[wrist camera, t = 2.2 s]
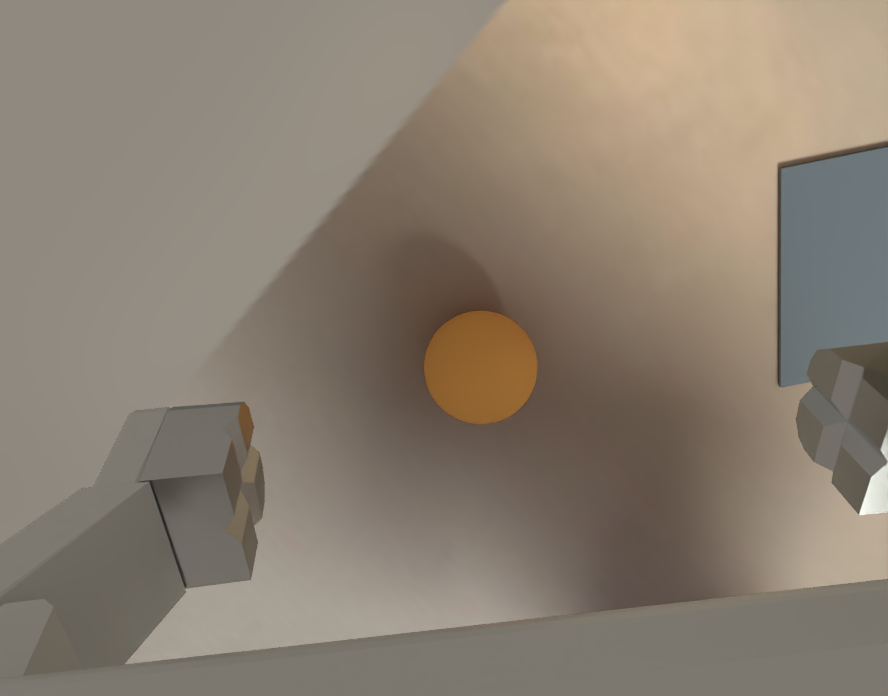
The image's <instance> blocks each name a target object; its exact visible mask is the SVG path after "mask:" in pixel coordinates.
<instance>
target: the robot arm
mask: <svg viewBox="0 0 888 696" xmlns="http://www.w3.org/2000/svg"><path fill="white" fill-rule="evenodd" d="M806 375H807V376H808V378H809V380H810V381H811V383H812V385H813V387H812V388H811V389H810V390H809V391H808V392H807V393H806V394H805V395H804V397H803V398H802V399H801V400H800V403H799V408H798V413H797V418H796V421H797V428H798V435H799V439H800V441H801V443H802V445H803V448H804V450H805V451H806V452H807V454H808V455H809V456H810V457H811V459H812V460H813V461H814V462H816V463H818V464H820V465H822V466H824V467H826V468H828V469H830V470H832V471H833V475H832V482H831V483H832V484H833V485H834V486H835V487H836V488H837V490H838V491H839V492H840V493H841V494H842V495H843V497H844V498H845V499H846V500H847V501H848V503H849V504H850V505H851V506H852V507H853V508H854V510H855V511H856V512H857V513H858V514H859V515H863V514H876V513H888V341H886V342H882V343H873V344H864V345H855V346H846V347H837V348H828V349H820V350H817V351H816V352H815V354H814V355H813V357H812V358H811V360H810V363H809V367H808V371H807V374H806ZM253 429H254V426H253V422H252V418H251V414H250V410H249V407H248V406H247V405H246V403H245V402H236V403H222V404H208V405H194V406H181V407H173V408H169V407H165V408H155V409H145V410H136V411H134V412H132V413H130V414H129V416H128V417H127V419H126V421H125V423H124V425H123V427H122V429H121V431H120V433H119V435H118V437H117V439H116V442H115V444H114V446H113V447H112V450H111V452H110V454H109V456H108V458H107V460H106V462H105V464H104V466H103V468H102V470H101V472H100V474H99V476H98V478H97V480H96V482H95V484H94V486H93V487H88V488H81V489H80V490H78V491H77V492H75V493H74V494H72V495H71V496H69V497H68V498H67V499H65V500H64V501H63V502H61V503H59V504H58V505H56V506H55V507H54V508H52V509H51V510H49V511H48V512H46V513H45V514H44V515H42V516H41V517H39V518H38V519H36V520H35V521H33V522H32V523H31V524H29V525H28V526H26V527H25V528H23V529H22V530H20V531H19V532H18V533H16V534H15V535H13V536H12V537H11V538H9V539H7V540H6V541H5V542H3V543H2V544H0V696H888V579H883V580H874V581H866V582H857V583H848V584H839V585H830V586H821V587H813V588H804V589H795V590H786V591H777V592H768V593H759V594H750V595H741V596H732V597H723V598H714V599H705V600H696V601H687V602H678V603H669V604H660V605H651V606H642V607H633V608H623V609H614V610H605V611H596V612H587V613H578V614H569V615H561V616H552V617H543V618H534V619H525V620H517V621H508V622H499V623H490V624H481V625H473V626H464V627H455V628H446V629H437V630H429V631H420V632H411V633H402V634H393V635H385V636H376V637H367V638H358V639H349V640H341V641H332V642H323V643H314V644H305V645H297V646H288V647H279V648H270V649H261V650H252V651H242V652H233V653H224V654H214V655H205V656H196V657H187V658H178V659H169V660H161V661H152V662H143V663H134V664H125V663H126V662H127V660H128V659H129V658H130V657H131V656H132V655H133V653H134V652H135V651H136V650H137V649H138V648H139V646H140V645H141V644H142V643H143V642H144V641H145V639H146V638H147V637H148V636H149V635H150V634H151V632H152V631H153V630H154V629H155V628H156V627H157V625H158V624H159V623H160V622H161V621H162V620H163V618H164V617H165V616H166V615H167V614H168V613H169V611H170V610H171V609H172V608H173V607H174V606H175V604H176V603H177V602H178V601H179V600H180V599H181V597H182V596H183V595H184V594H185V593H186V590H185V589H186V588H194V587H201V586H208V585H216V584H223V583H231V582H238V581H246V580H251V577H252V572H253V566H254V561H255V555H256V550H257V544H258V540H257V536H256V532H255V528H254V525H255V524H256V523H258V522H259V521H260V520H261V519H262V515H263V509H264V497H265V482H264V473H263V466H262V461H261V456H260V452H258V451H257V450H256V449H255V448H254V447H252V446H251V445H250V443H251V438H252V433H253ZM124 664H125V665H124Z"/></svg>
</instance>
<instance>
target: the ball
mask: <svg viewBox="0 0 888 696" xmlns="http://www.w3.org/2000/svg"><path fill="white" fill-rule="evenodd" d="M537 370H538V364H537V356H536V352H535V349H534V346H533V344H532V342H531V340H530V338H529V337H528V335H527V334H526V332H525V331H524V330H523V329H522V328H521V327H520V326H519V325H518V324H517V323H515V322H514V321H513V320H511V319H510V318H508V317H506V316H504V315H501V314H499V313H495V312H491V311H470V312H466V313H463V314H460V315H458V316H455V317H454V318H452V319H450V320H449V321H447V322H446V323H445V324H444V325H442V326H441V327H440V328H439V329H438V331H437V332H436V333H435V334H434V336H433V337H432V339H431V341H430V343H429V345H428V348H427V351H426V354H425V360H424V375H425V380H426V384H427V387H428V389H429V392H430V394H431V395H432V397H433V399H434V400H435V402H436V403H437V404H438V405H439V406H440V407H441V408H442V409H443V410H444V411H445V412H446V413H448V414H449V415H451V416H452V417H454V418H456V419H458V420H461V421H464V422H467V423H472V424H489V423H494V422H498V421H501V420H504V419H506V418H508V417H509V416H511V415H513V414H514V413H515V412H517V411H518V410H519V409H520V408H521V407H522V406H523V405H524V404H525V403H526V401H527V400H528V398H529V397H530V395H531V393H532V391H533V389H534V386H535V383H536V379H537Z"/></svg>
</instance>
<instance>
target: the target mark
mask: <svg viewBox="0 0 888 696" xmlns="http://www.w3.org/2000/svg"><path fill="white" fill-rule="evenodd" d="M886 341H888V146H886V147H881V148H876V149H871V150H866V151H861V152H856V153H851V154H847V155H842V156H837V157H832V158H827V159H822V160H817V161H812V162H807V163H802V164H797V165H792V166H787V167H782V168H779V386H780V387H785V386H790V385H795V384H800V383H806V382H811V381H810V380H809V378H808V376H807V375H806V374H807V371H808V367H809V363H810V360H811V358H812V357H813V355H814V354H815V352H816V351H817V350H820V349H828V348H837V347H846V346H855V345H864V344H873V343H882V342H886Z"/></svg>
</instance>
